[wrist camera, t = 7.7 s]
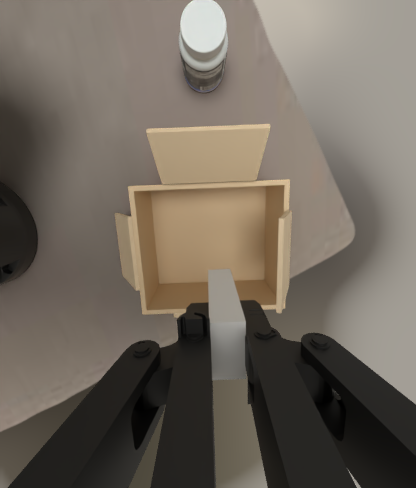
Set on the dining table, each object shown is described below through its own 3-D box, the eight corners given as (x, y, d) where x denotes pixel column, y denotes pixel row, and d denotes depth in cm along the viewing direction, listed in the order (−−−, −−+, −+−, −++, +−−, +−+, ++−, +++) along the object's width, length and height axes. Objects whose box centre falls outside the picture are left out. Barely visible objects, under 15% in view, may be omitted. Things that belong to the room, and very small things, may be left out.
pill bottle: (190, 42, 28) (184, -19, 20) (228, 57, 28) (238, 3, 20) (178, 85, 29) (168, 45, 21) (216, 99, 29) (220, 65, 21)
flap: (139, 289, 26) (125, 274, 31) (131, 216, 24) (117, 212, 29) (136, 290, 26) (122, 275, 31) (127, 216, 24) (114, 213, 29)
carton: (156, 286, 35) (142, 315, 27) (147, 186, 31) (128, 186, 24) (266, 282, 35) (284, 309, 27) (268, 181, 31) (289, 179, 24)
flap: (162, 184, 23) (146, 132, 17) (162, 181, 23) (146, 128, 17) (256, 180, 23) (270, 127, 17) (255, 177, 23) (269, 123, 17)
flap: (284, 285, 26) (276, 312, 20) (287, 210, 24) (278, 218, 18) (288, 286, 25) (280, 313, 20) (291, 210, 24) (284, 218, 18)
